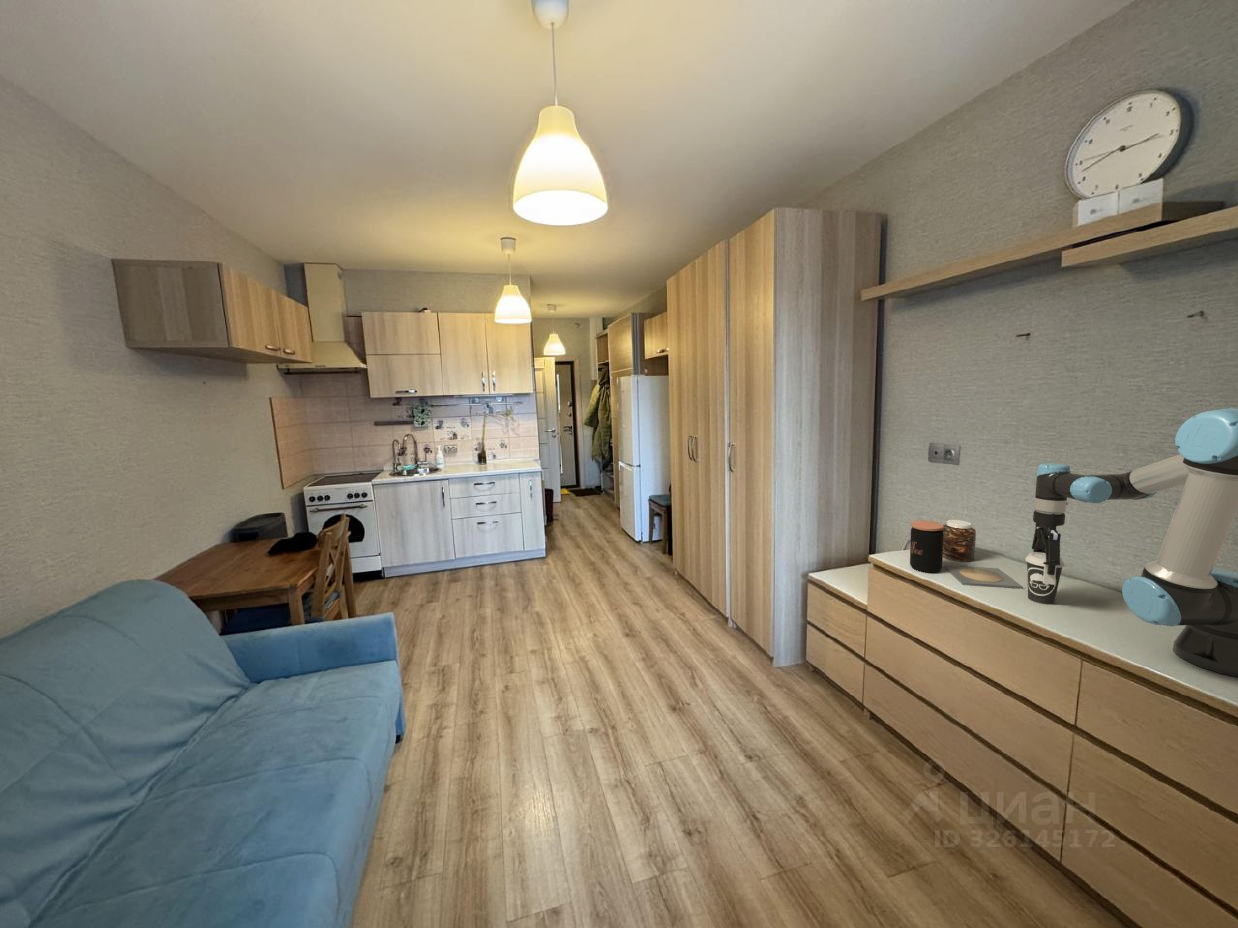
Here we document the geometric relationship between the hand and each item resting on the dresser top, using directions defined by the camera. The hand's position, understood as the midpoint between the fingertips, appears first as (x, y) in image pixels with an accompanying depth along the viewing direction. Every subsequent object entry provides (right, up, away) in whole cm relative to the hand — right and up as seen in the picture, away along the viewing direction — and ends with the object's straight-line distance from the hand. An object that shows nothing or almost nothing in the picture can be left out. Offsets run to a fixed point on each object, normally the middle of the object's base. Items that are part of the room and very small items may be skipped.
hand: (1043, 577), depth 153 cm
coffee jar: (-18, -4, +31) cm, 36 cm away
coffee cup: (0, -8, +1) cm, 8 cm away
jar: (+2, -2, +42) cm, 42 cm away
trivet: (-4, -5, +21) cm, 22 cm away
